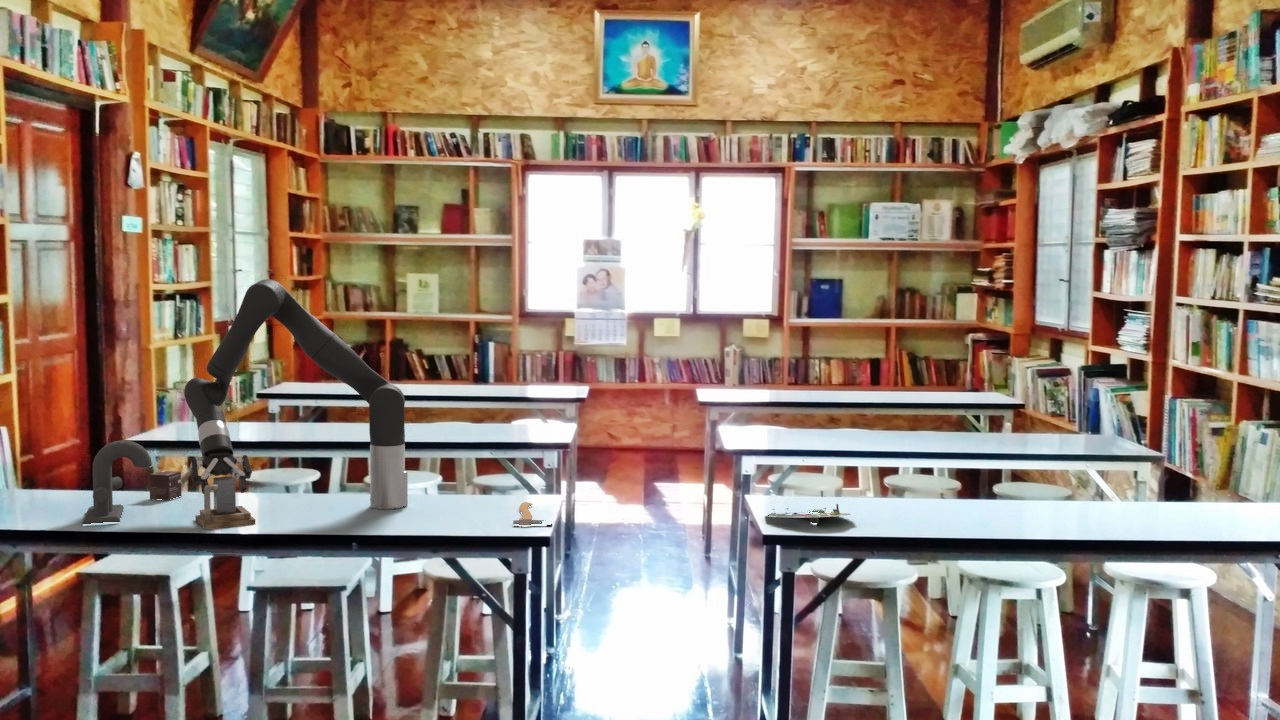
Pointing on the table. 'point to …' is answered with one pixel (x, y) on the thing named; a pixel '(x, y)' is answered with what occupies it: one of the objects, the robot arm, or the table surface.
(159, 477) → the box
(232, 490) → the grey upright tablet
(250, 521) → the keeper
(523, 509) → the tan hook stand
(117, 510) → the faucet
